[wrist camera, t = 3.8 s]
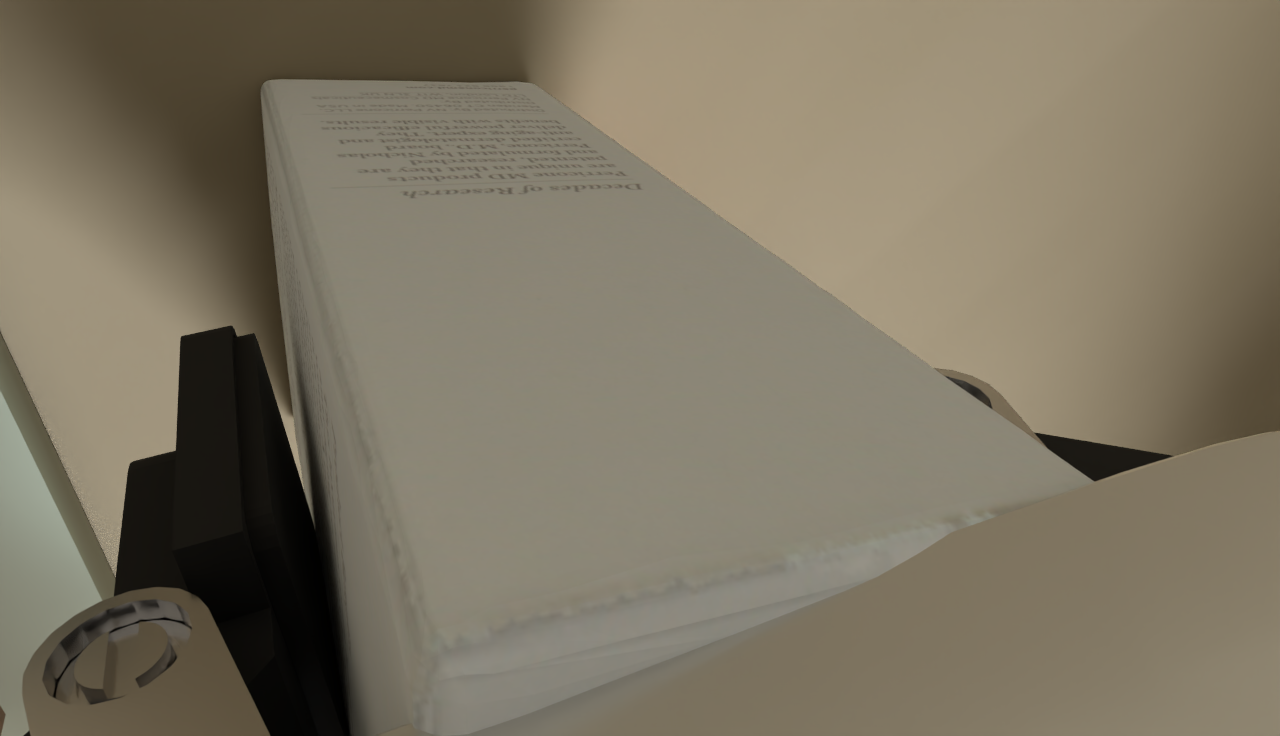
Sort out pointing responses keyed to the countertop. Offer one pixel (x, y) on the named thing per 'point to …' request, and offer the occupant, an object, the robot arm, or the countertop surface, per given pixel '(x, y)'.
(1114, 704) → the robot arm
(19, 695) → the socket holder
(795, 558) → the skincare box
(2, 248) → the countertop surface
